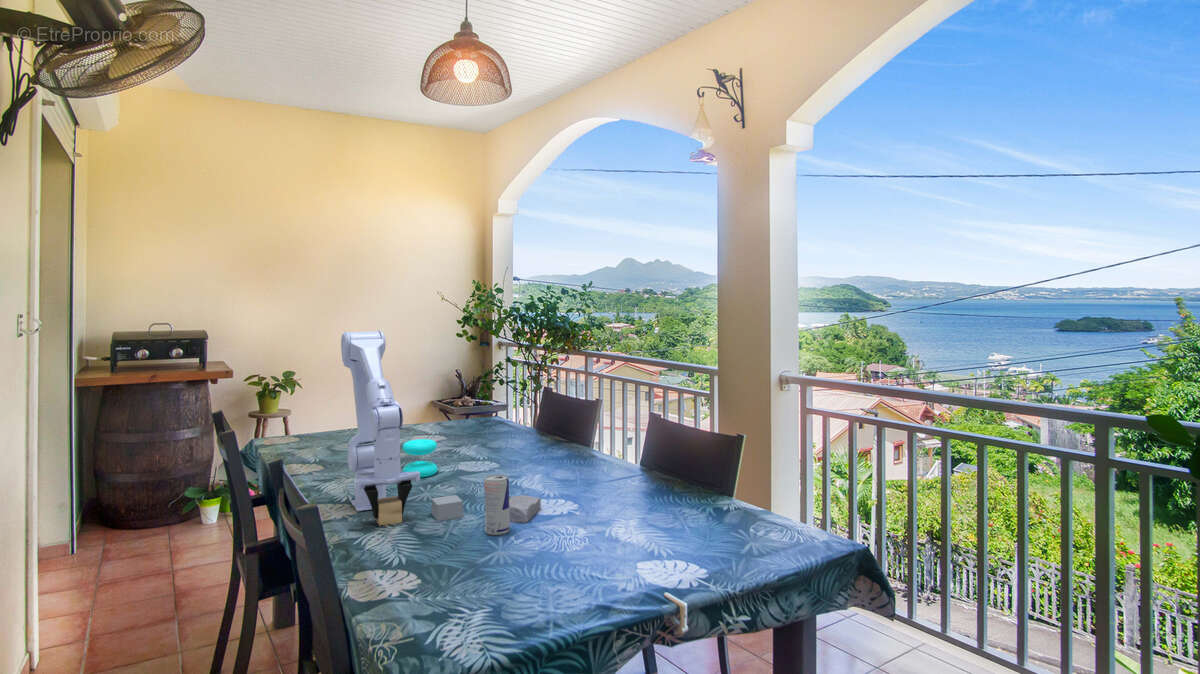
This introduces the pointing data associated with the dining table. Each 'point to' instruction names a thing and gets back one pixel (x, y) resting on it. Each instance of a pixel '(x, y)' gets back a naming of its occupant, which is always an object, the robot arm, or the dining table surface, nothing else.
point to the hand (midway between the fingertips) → (388, 515)
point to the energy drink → (496, 504)
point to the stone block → (523, 508)
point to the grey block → (447, 507)
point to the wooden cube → (389, 511)
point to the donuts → (420, 449)
